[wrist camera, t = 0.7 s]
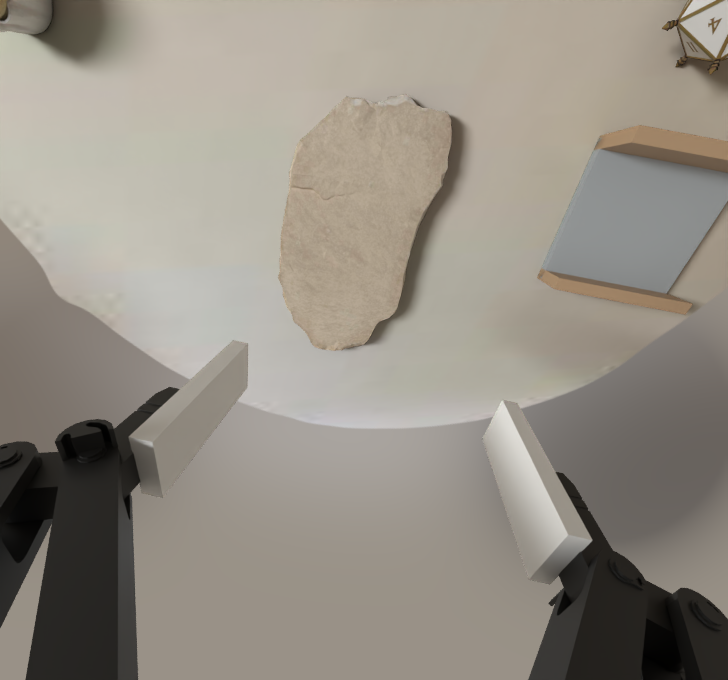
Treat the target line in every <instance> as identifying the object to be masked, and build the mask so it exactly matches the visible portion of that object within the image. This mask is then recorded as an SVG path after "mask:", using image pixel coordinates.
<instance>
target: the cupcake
mask: <svg viewBox="0 0 728 680" xmlns="http://www.w3.org/2000/svg"><path fill="white" fill-rule="evenodd" d="M52 10H53V9H52V0H0V32H5V31H12V32H17V33H23V34H38V33H41V32H44V31H45V30H46V29H47V27H48V26H49V24H50V22H51V20H52Z"/></svg>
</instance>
